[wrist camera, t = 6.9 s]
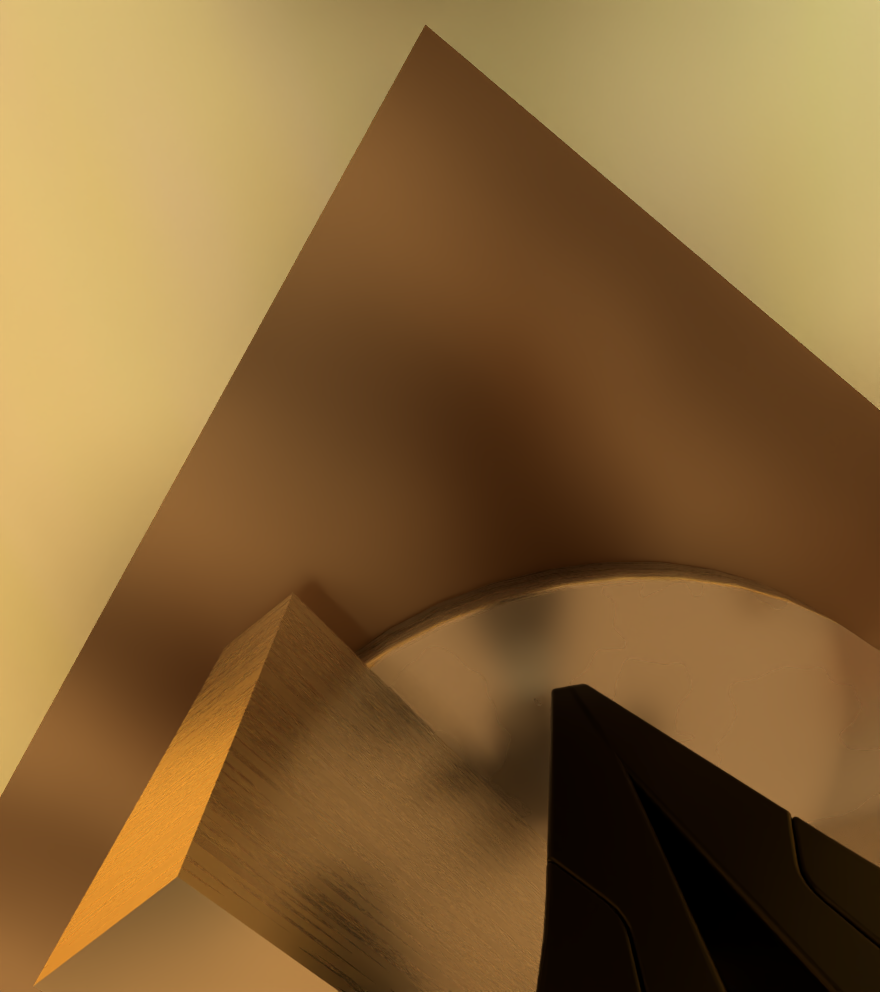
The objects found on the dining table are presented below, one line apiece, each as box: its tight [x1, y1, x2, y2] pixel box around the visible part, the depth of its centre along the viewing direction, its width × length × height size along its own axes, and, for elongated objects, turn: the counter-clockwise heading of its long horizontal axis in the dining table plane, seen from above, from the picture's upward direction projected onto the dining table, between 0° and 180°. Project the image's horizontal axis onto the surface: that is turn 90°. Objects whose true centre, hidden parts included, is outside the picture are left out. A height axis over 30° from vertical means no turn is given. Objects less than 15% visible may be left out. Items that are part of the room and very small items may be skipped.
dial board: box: [0, 25, 880, 992], centre depth 14 cm, size 26×26×2 cm
